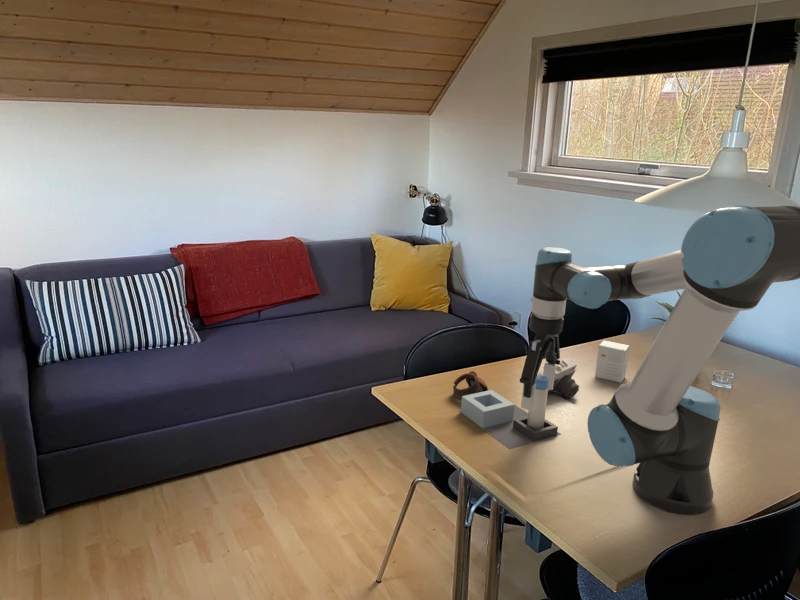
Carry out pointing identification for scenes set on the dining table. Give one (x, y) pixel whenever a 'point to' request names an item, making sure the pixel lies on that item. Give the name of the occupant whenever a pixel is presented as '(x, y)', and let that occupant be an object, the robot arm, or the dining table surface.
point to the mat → (510, 431)
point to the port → (487, 408)
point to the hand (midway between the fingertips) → (537, 398)
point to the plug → (538, 404)
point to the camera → (564, 378)
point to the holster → (535, 435)
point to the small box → (612, 361)
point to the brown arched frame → (473, 383)
